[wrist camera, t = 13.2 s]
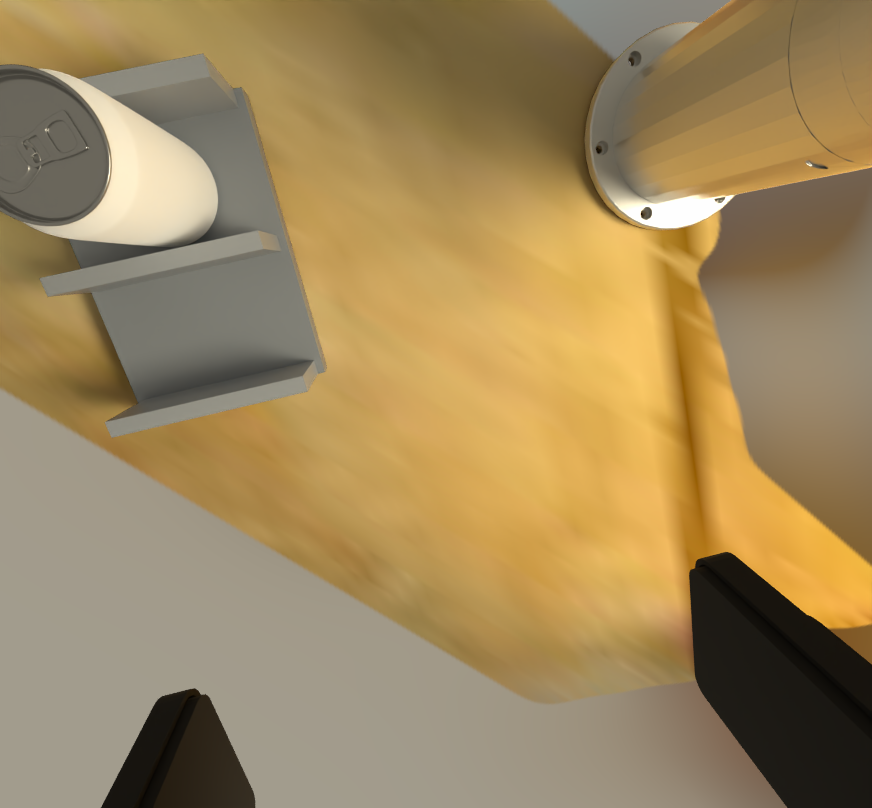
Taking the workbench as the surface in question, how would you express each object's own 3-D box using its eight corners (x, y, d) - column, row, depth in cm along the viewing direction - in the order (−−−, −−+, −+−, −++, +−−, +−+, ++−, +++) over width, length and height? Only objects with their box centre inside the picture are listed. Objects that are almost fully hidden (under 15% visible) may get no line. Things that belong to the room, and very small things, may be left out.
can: (87, 164, 29) (-107, 98, 17) (182, 116, 29) (49, 18, 17) (151, 265, 31) (14, 265, 19) (240, 220, 31) (156, 194, 19)
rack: (247, 95, 30) (213, 51, 24) (327, 367, 35) (315, 389, 29) (40, 138, 29) (-51, 105, 23) (152, 408, 35) (103, 439, 29)
